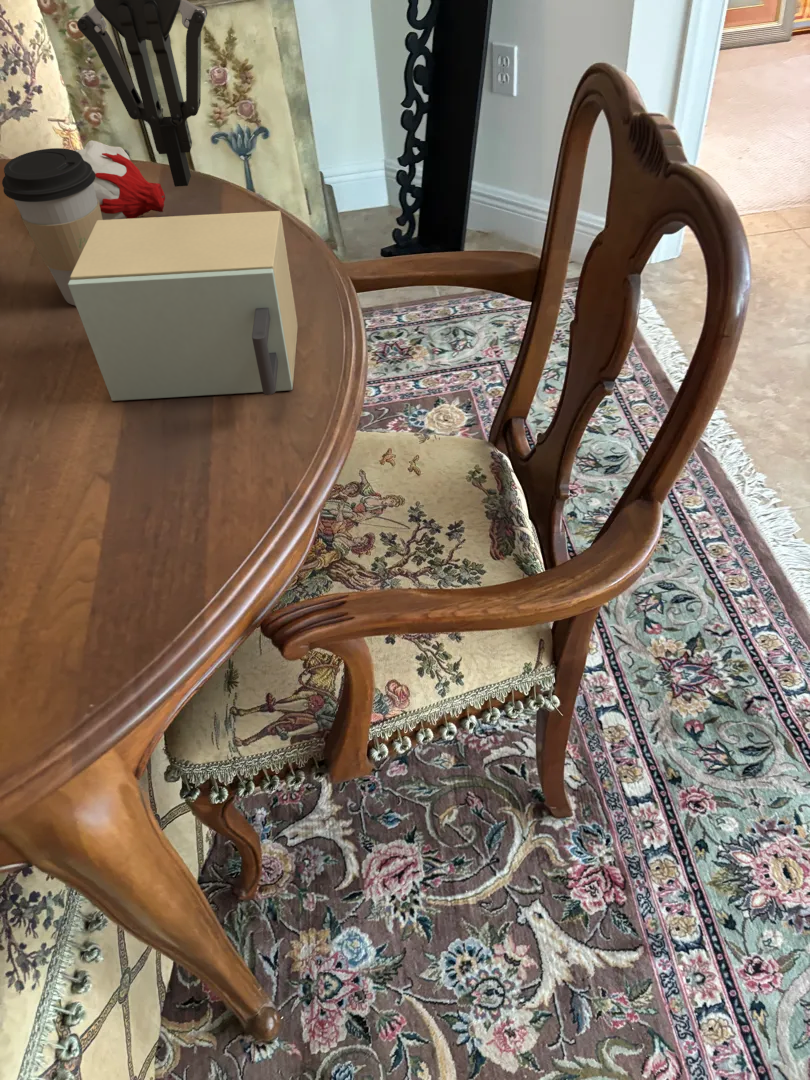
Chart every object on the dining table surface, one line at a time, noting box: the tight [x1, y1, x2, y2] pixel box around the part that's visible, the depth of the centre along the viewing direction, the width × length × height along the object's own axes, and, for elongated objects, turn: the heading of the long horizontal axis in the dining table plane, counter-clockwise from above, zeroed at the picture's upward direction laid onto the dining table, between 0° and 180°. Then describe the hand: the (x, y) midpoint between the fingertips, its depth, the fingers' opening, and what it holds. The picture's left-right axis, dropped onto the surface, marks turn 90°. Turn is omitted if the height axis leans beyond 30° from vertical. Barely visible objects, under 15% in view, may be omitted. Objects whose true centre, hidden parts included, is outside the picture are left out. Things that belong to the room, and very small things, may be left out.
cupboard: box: [70, 210, 299, 386], centre depth 78 cm, size 11×18×13 cm, turn 93°
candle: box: [73, 140, 166, 220], centre depth 102 cm, size 9×11×15 cm
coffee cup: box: [1, 147, 103, 307], centre depth 87 cm, size 9×9×15 cm
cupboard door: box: [68, 269, 294, 402], centre depth 72 cm, size 6×18×13 cm, turn 93°
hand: (182, 181), depth 90 cm, fingers closed
